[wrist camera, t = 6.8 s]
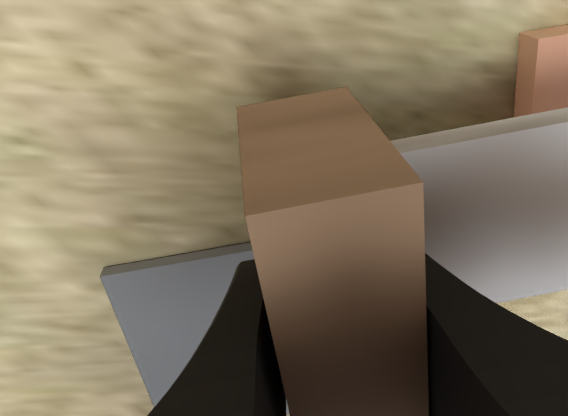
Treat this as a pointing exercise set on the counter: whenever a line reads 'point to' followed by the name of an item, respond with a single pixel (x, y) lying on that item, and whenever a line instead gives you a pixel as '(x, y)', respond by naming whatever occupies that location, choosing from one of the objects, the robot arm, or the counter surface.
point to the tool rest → (170, 307)
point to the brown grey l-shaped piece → (390, 238)
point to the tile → (542, 71)
